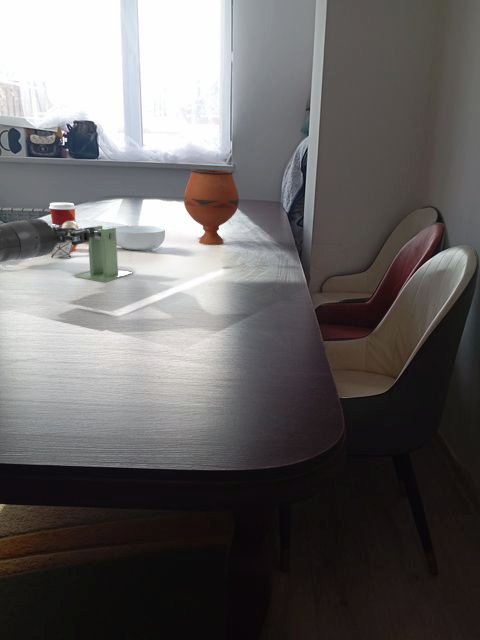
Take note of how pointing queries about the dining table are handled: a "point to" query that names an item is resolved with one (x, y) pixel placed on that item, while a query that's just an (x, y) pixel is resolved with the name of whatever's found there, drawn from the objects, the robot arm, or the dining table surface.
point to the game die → (62, 250)
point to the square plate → (93, 223)
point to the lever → (74, 225)
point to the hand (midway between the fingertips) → (82, 230)
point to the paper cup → (62, 214)
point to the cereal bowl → (139, 237)
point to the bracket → (103, 257)
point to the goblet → (211, 201)
